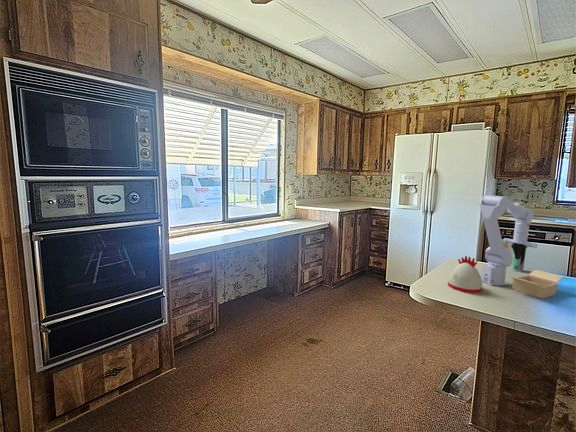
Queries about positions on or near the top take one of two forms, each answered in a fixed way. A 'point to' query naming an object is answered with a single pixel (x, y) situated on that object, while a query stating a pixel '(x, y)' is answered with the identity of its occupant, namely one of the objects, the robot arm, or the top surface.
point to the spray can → (518, 262)
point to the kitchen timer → (465, 277)
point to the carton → (535, 287)
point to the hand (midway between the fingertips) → (517, 258)
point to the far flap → (546, 276)
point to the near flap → (525, 281)
